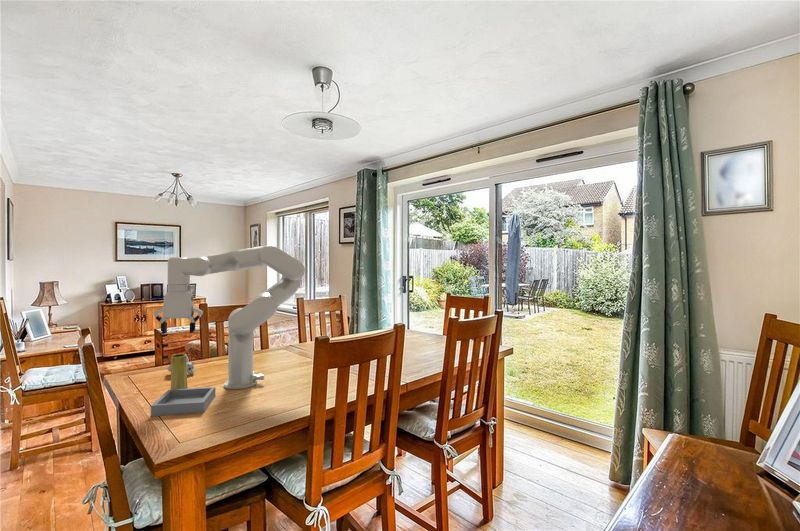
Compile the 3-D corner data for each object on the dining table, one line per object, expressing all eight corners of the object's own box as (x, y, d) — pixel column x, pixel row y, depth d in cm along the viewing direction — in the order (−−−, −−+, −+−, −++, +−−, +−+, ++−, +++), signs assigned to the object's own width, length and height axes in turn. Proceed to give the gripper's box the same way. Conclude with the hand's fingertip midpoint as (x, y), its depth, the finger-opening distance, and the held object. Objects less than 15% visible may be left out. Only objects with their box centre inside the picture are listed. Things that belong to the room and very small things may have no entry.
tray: (215, 396, 145) (215, 386, 145) (203, 412, 130) (204, 402, 130) (168, 399, 142) (168, 389, 142) (150, 416, 126) (150, 405, 126)
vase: (179, 395, 146) (179, 357, 146) (165, 393, 147) (165, 356, 147) (191, 389, 152) (191, 353, 152) (178, 388, 153) (178, 353, 153)
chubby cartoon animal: (184, 383, 168) (190, 365, 167) (164, 370, 171) (169, 353, 170) (197, 378, 175) (202, 361, 174) (177, 366, 178) (182, 349, 177)
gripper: (205, 288, 155) (205, 330, 155) (157, 288, 151) (157, 331, 151) (200, 289, 147) (199, 334, 148) (149, 289, 144) (149, 335, 144)
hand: (178, 332), depth 149 cm, fingers open, 9 cm apart
